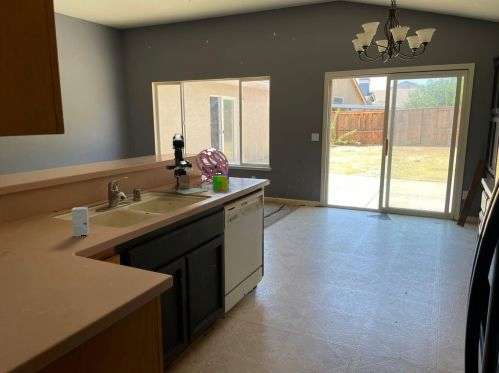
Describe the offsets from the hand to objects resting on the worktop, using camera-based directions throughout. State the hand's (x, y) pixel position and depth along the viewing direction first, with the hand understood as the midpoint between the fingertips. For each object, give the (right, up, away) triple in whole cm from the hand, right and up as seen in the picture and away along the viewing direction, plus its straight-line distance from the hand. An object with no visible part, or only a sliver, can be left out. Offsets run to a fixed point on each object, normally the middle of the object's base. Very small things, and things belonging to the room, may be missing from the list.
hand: (179, 178), depth 263 cm
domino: (+4, -8, -4) cm, 10 cm away
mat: (+11, -9, -10) cm, 18 cm away
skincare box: (-23, -27, -105) cm, 111 cm away
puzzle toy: (+30, -8, -3) cm, 32 cm away
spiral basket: (+22, -2, +29) cm, 36 cm away
